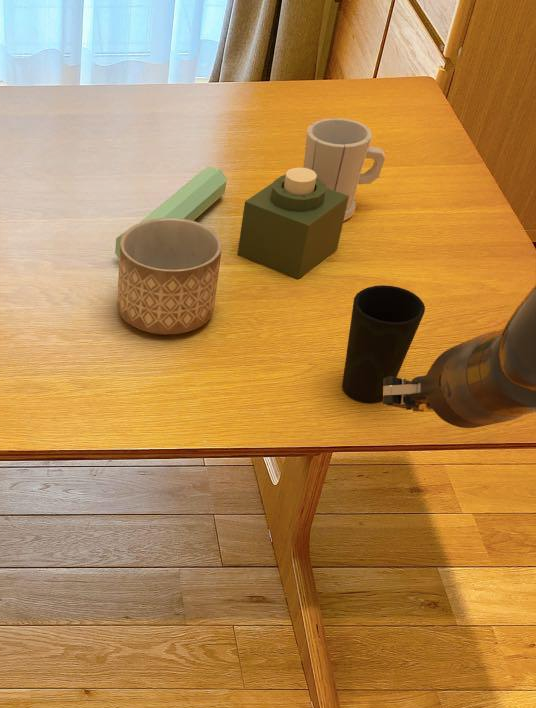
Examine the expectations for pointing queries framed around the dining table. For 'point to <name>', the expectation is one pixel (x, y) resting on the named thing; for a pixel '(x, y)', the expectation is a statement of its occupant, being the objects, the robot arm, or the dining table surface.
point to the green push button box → (291, 227)
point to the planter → (168, 275)
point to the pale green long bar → (189, 199)
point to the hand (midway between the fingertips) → (419, 401)
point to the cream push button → (300, 181)
